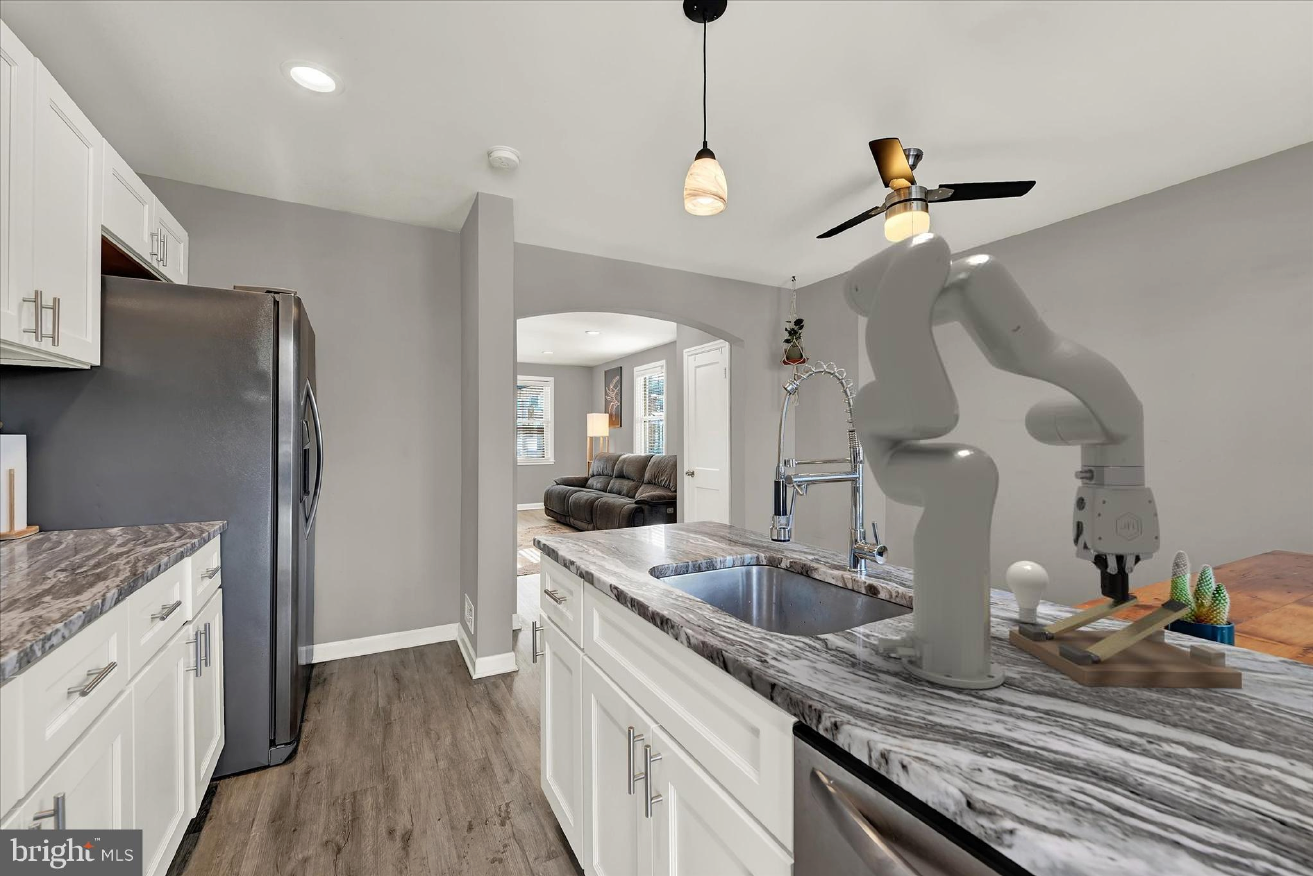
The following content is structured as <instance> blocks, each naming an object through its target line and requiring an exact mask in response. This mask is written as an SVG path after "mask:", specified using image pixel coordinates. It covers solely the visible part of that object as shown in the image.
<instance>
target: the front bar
mask: <svg viewBox="0 0 1313 876" xmlns="http://www.w3.org/2000/svg"><path fill="white" fill-rule="evenodd" d="M1191 612H1192V610H1191V608H1190V607H1189V605H1188V604H1187V603H1185V602H1182V601H1178V600H1175V599H1172V598H1170V599H1169V600H1167V601H1165V602H1163V603H1161V604H1160V607H1158V608H1157V609H1155V610H1153V611H1151V612H1150V613H1148V614H1146V615H1144V616H1142V617H1141V618H1138V620H1137V619H1136V620H1135V621H1134V622H1131V623H1130V624H1128V625H1127V626H1125V627H1123V628H1121V629H1119V630H1117V631H1118V632H1116V633H1114V634H1112V635H1110V636H1109V637H1107V638H1105V639H1103V640H1102V641H1100V642H1098V643H1096V644H1094V645H1093V646H1091V647H1089V648H1087V649H1085V650H1083V651H1085V652H1087V653H1089V654H1091V655H1092V662H1093V663H1095V664H1098V663H1099V662H1100V661H1104V660H1105V659H1107V658H1109V657H1111V656H1112V655H1114V654H1116V653H1118V652H1120V651H1121V650H1123V649H1125V648H1127V647H1128V646H1130V645H1132V644H1134V643H1136V642H1137V641H1139V640H1141V639H1143V638H1144V637H1146V636H1148V635H1150V634H1152V633H1153V632H1155V631H1157V630H1159V629H1162V628H1164V627H1165V626H1168V625H1169V624H1171V623H1173V622H1175V621H1177V620H1178V619H1180V618H1182V617H1184V616H1186V615H1187V614H1189V613H1191Z"/></svg>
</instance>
